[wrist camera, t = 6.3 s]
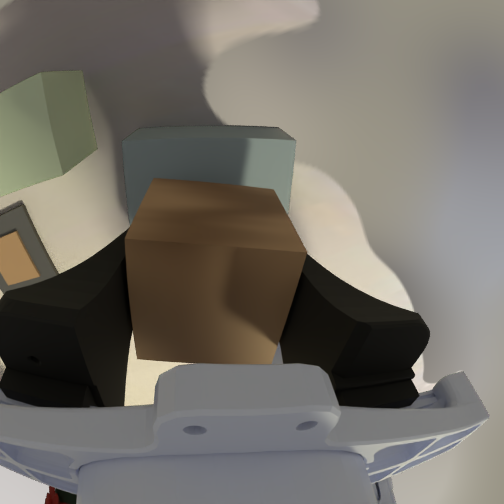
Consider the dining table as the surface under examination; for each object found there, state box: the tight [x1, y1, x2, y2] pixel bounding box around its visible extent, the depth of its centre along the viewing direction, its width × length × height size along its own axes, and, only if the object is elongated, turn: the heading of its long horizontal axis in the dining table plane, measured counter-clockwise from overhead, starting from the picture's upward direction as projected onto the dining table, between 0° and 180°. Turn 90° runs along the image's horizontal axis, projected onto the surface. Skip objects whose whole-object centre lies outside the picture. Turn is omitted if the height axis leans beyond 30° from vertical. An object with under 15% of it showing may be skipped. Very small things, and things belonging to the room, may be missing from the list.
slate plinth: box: [122, 125, 296, 226], centre depth 17 cm, size 8×8×4 cm
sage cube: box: [0, 71, 98, 197], centre depth 12 cm, size 5×5×5 cm
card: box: [0, 204, 58, 294], centre depth 18 cm, size 7×7×1 cm
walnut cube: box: [125, 178, 307, 364], centre depth 11 cm, size 5×5×5 cm
